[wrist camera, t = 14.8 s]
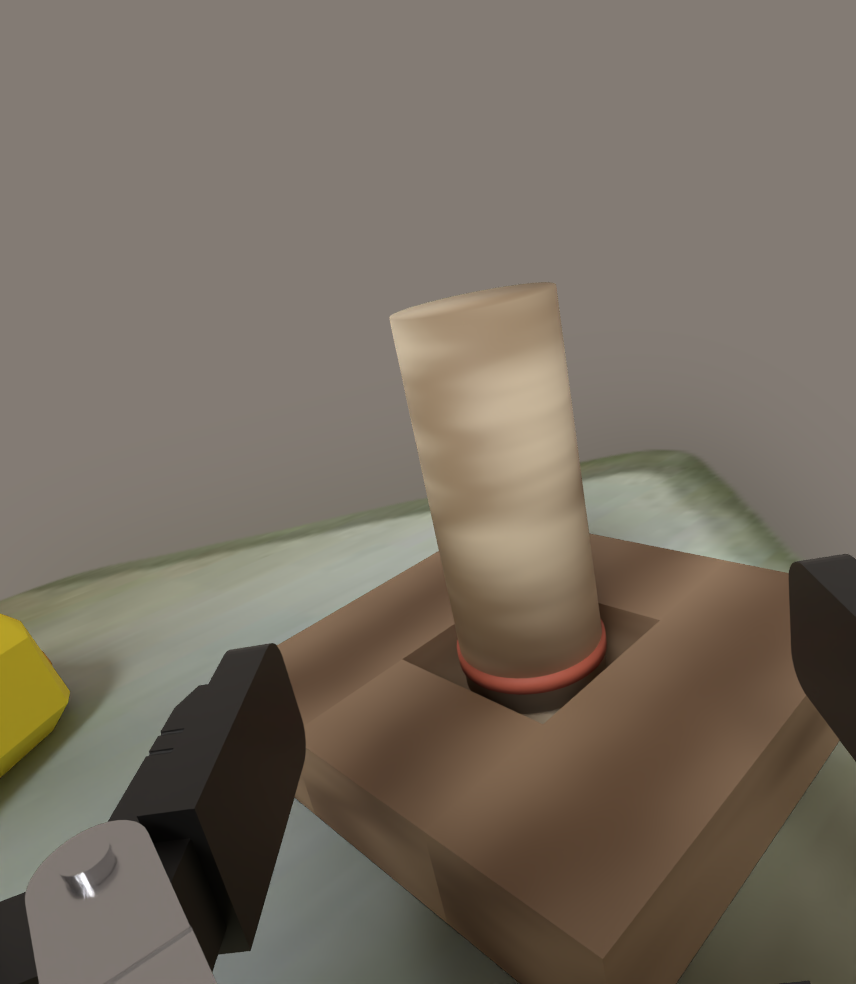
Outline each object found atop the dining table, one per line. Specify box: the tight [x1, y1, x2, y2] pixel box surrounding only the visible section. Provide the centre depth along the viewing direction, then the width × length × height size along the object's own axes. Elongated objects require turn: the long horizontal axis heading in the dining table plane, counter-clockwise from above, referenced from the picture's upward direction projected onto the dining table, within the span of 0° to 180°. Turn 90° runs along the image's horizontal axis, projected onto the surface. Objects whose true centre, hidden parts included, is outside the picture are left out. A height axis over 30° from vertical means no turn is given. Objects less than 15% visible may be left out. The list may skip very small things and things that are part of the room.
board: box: [277, 534, 840, 984], centre depth 24 cm, size 16×15×3 cm
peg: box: [389, 282, 607, 724], centre depth 22 cm, size 5×5×14 cm
